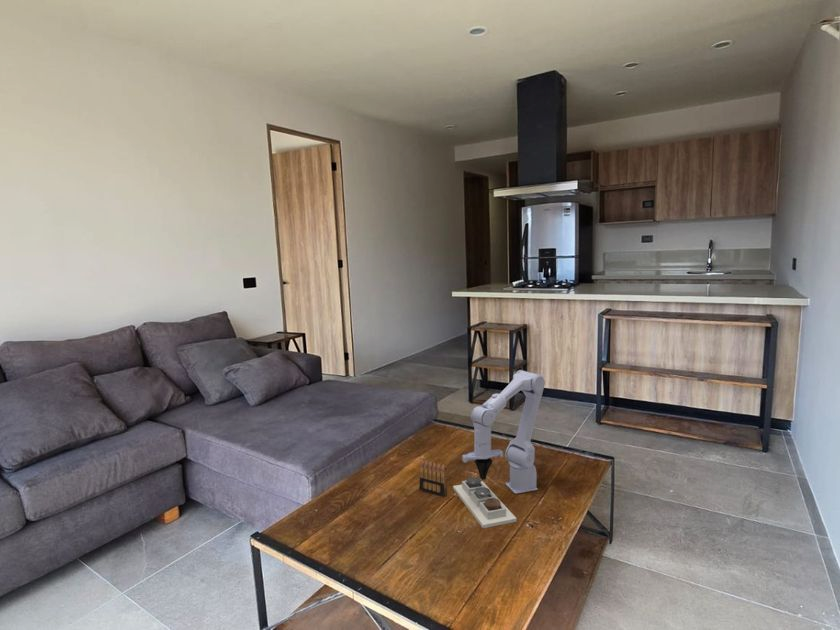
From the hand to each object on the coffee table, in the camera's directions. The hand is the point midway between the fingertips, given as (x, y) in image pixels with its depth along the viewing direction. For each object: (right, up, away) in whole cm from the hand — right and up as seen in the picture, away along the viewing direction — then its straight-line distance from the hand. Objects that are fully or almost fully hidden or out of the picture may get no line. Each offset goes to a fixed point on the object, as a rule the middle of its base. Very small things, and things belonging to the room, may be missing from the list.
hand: (482, 478), depth 164 cm
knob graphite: (-2, -7, +9) cm, 12 cm away
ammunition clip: (-17, -9, +10) cm, 22 cm away
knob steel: (0, -8, +1) cm, 8 cm away
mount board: (0, -10, +1) cm, 10 cm away
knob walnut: (+2, -9, -7) cm, 12 cm away
